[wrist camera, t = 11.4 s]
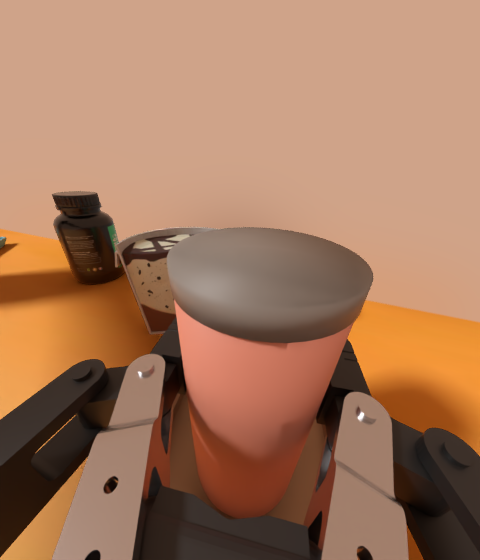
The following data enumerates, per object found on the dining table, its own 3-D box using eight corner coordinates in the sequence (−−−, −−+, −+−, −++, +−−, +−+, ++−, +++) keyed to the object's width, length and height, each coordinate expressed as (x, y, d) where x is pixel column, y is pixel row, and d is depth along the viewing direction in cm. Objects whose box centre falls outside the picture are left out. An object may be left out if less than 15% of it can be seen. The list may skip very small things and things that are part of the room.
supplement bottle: (135, 270, 34) (117, 193, 28) (95, 289, 29) (62, 198, 23) (106, 262, 37) (84, 189, 31) (65, 278, 31) (28, 193, 25)
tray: (73, 608, 8) (57, 604, 8) (189, 364, 19) (187, 352, 18) (392, 733, 7) (415, 744, 6) (325, 389, 17) (330, 377, 16)
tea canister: (178, 503, 10) (114, 286, 4) (212, 393, 15) (205, 222, 9) (295, 537, 9) (428, 331, 3) (291, 409, 14) (341, 234, 8)
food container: (242, 297, 28) (246, 226, 24) (250, 328, 23) (257, 244, 18) (149, 301, 27) (133, 225, 22) (134, 335, 22) (108, 244, 17)
